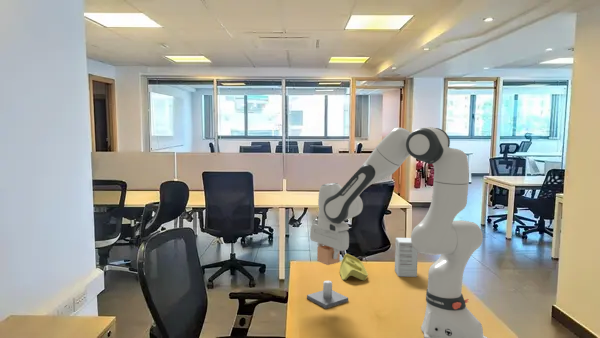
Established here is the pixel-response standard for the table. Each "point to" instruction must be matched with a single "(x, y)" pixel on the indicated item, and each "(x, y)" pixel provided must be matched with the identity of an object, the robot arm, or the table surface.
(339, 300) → the base
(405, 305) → the table surface
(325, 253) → the sleeve
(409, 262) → the supplement box
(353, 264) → the plastic component
